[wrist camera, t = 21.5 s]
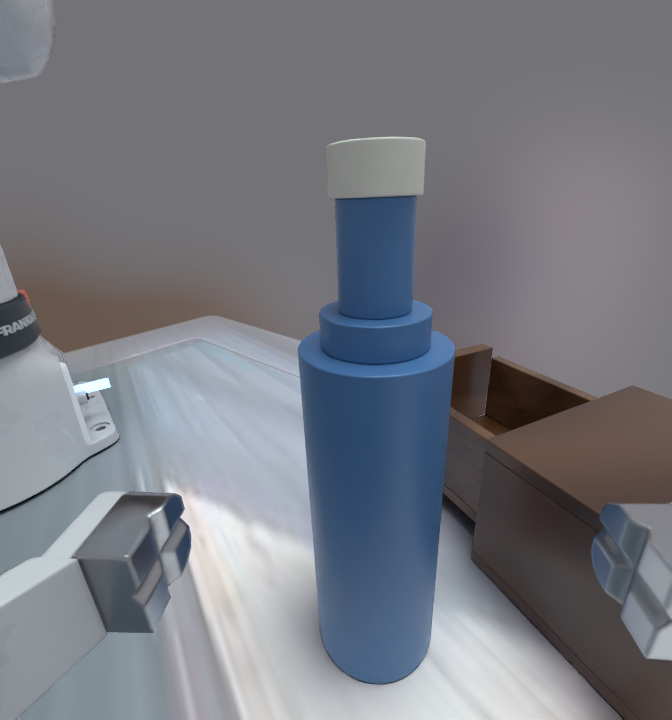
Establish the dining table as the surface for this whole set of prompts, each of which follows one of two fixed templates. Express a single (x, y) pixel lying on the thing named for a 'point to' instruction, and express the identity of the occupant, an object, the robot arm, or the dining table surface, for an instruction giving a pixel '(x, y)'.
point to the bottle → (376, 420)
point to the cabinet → (577, 533)
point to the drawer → (493, 414)
